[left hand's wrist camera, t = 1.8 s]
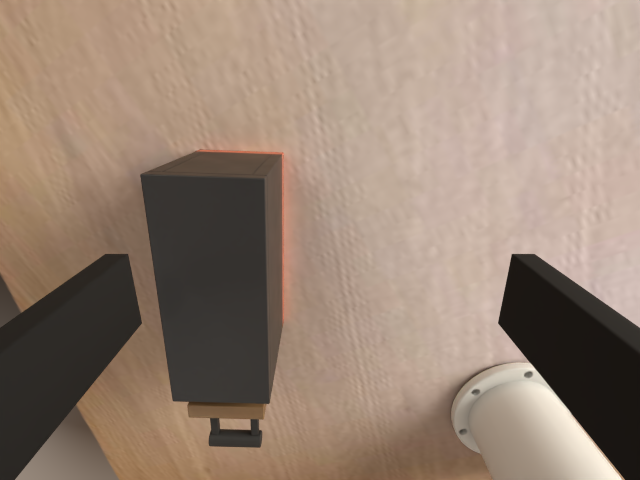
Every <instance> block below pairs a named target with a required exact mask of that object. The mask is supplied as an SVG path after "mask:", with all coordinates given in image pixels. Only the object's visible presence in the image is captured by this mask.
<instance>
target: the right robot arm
mask: <svg viewBox="0 0 640 480" xmlns="http://www.w3.org/2000/svg"><path fill="white" fill-rule="evenodd" d="M571 415H572V413H571V412H570V411H569V410H568V409H567V407H566V406H565V405H564V404H563V402H562V401H561V400H560V399H559V397H558V396H557V395H556V394H555V393H554V391H553V390H552V389H551V388H550V386H549V385H548V384H547V383H546V381H545V380H544V379H543V378H542V377H541V375H540V374H539V373H538V372H537V370H536V369H535V368H534V367H533V365H532V364H531V363H519V362H517V363H508V364H503V365H499V366H495V367H492V368H490V369H488V370H485V371H483V372H481V373H480V374H478V375H476V376H475V377H473V378H472V379H471V380H470V381H468V382H467V383H466V384H465V385H464V386H463V387H462V389H461V390H460V391H459V392H458V394H457V396H456V398H455V399H454V401H453V405H452V408H451V420H452V425H453V428H454V430H455V433H456V435H457V436H458V438H459V439H460V441H461V442H462V443H463V444H464V445H465V446H466V447H468V448H469V449H471V450H473V451H474V452H476V453H479V454H481V455H482V457H483V460H484V462H485V464H486V466H487V468H488V471H489V473H490V475H491V477H492V479H493V480H622V479H621V478H620V476H619V475H618V474H617V473H616V471H615V470H614V469H613V468H612V466H611V465H610V464H609V463H608V461H607V460H606V459H605V458H604V456H603V455H602V454H601V452H600V451H599V450H598V449H597V447H596V446H595V445H594V444H593V442H592V441H591V440H590V439H589V437H588V436H587V435H586V434H585V432H584V431H583V430H582V429H581V427H580V426H579V425H578V424H577V422H576V421H575V420H574V419H573V417H572V416H571Z"/></svg>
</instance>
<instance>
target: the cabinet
mask: <svg viewBox="0 0 640 480" xmlns="http://www.w3.org/2000/svg"><path fill="white" fill-rule="evenodd" d="M141 182H142V189H143V196H144V203H145V210H146V217H147V224H148V231H149V238H150V245H151V252H152V259H153V266H154V273H155V280H156V287H157V294H158V301H159V308H160V315H161V322H162V329H163V336H164V343H165V350H166V357H167V364H168V371H169V378H170V385H171V392H172V399H173V401H182V402H218V403H254V404H269V403H270V397H271V391H272V385H273V380H274V374H275V368H276V362H277V356H278V350H279V344H280V338H281V332H282V327H283V322H284V242H283V153H279V152H250V151H222V150H198V151H195V152H194V153H192V154H189V155H187V156H184V157H182V158H179V159H177V160H175V161H172V162H170V163H167V164H165V165H162V166H160V167H157V168H155V169H153V170H150V171H147V172H145V173H143V174H141Z"/></svg>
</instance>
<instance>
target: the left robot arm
mask: <svg viewBox="0 0 640 480" xmlns="http://www.w3.org/2000/svg"><path fill="white" fill-rule="evenodd" d="M141 324H142V321H141V316H140V311H139V306H138V301H137V297H136V292H135V287H134V282H133V277H132V272H131V267H130V262H129V257H128V254H105V255H104V256H102V257H101V258H99V259H98V260H96V261H95V262H94V263H92V264H91V265H89V266H88V267H86V268H85V269H84V270H82V271H81V272H79V273H78V274H76V275H75V276H74V277H72V278H71V279H69V280H68V281H66V282H65V283H64V284H62V285H61V286H59V287H58V288H56V289H55V290H54V291H52V292H51V293H49V294H48V295H46V296H45V297H44V298H42V299H41V300H39V301H38V302H37V303H35V304H34V305H32V306H31V307H29V308H28V309H27V310H25V311H24V312H22V313H21V314H19V315H18V316H17V317H15V318H14V319H12V320H11V321H9V322H8V323H7V324H5V325H4V326H2V327H1V328H0V480H15V479H16V477H17V476H18V475H19V474H20V473H21V471H22V470H23V469H24V468H25V466H26V465H27V464H28V463H29V462H30V460H31V459H32V458H33V457H34V455H35V454H36V453H37V452H38V450H39V449H40V448H41V447H42V445H43V444H44V443H45V442H46V441H47V439H48V438H49V437H50V436H51V434H52V433H53V432H54V431H55V429H56V428H57V427H58V426H59V425H60V423H61V422H62V421H63V420H64V418H65V417H66V416H67V415H68V413H69V412H70V411H71V410H72V409H73V407H74V406H75V405H76V404H77V402H78V401H79V400H80V399H81V397H82V396H83V395H84V394H85V393H86V391H87V390H88V389H89V388H90V386H91V385H92V384H93V383H94V381H95V380H96V379H97V378H98V377H99V375H100V374H101V373H102V372H103V370H104V369H105V368H106V367H107V365H108V364H109V363H110V362H111V361H112V359H113V358H114V357H115V356H116V354H117V353H118V352H119V351H120V349H121V348H122V347H123V346H124V345H125V343H126V342H127V341H128V340H129V338H130V337H131V336H132V335H133V333H134V332H135V331H136V330H137V329H138V327H139V326H140V325H141ZM498 324H499V325H500V326H501V327H502V329H503V330H504V331H505V332H506V333H507V335H508V336H509V337H510V338H511V340H512V341H513V342H514V343H515V345H516V346H517V347H518V348H519V349H520V351H521V352H522V353H523V354H524V356H525V357H526V358H527V359H528V361H529V362H530V363H531V364H532V365H533V367H534V368H535V369H536V370H537V372H538V373H539V374H540V375H541V377H542V378H543V379H544V380H545V381H546V383H547V384H548V385H549V386H550V388H551V389H552V390H553V391H554V393H555V394H556V395H557V396H558V397H559V399H560V400H561V401H562V402H563V404H564V405H565V406H566V407H567V409H568V410H569V411H570V412H571V413H572V415H573V416H574V417H575V418H576V420H577V421H578V422H579V423H580V425H581V426H582V427H583V428H584V430H585V431H586V432H587V433H588V434H589V436H590V437H591V438H592V439H593V441H594V442H595V443H596V444H597V446H598V447H599V448H600V449H601V450H602V452H603V453H604V454H605V455H606V457H607V458H608V459H609V460H610V462H611V463H612V464H613V465H614V466H615V468H616V469H617V470H618V471H619V473H620V474H621V475H622V476H623V478H624V479H625V480H640V328H639V327H638V326H636V325H635V324H633V323H632V322H631V321H629V320H628V319H626V318H625V317H623V316H622V315H621V314H619V313H618V312H616V311H615V310H613V309H612V308H611V307H609V306H608V305H606V304H605V303H603V302H602V301H601V300H599V299H598V298H596V297H595V296H594V295H592V294H591V293H589V292H588V291H586V290H585V289H584V288H582V287H581V286H579V285H578V284H576V283H575V282H574V281H572V280H571V279H569V278H568V277H566V276H565V275H564V274H562V273H561V272H559V271H558V270H556V269H555V268H554V267H552V266H551V265H549V264H548V263H546V262H545V261H544V260H542V259H541V258H539V257H538V256H536V255H535V254H512V257H511V262H510V267H509V272H508V277H507V282H506V287H505V292H504V297H503V301H502V306H501V311H500V316H499V321H498Z"/></svg>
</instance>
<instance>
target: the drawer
mask: <svg viewBox="0 0 640 480" xmlns="http://www.w3.org/2000/svg"><path fill="white" fill-rule="evenodd" d="M265 409H266V404H254V403H218V402H189V403H188V414H189V417H193V418H210V421H211V432H210V436H209V446H221V447H258V448H260V447H261V443H262V431H261V430H259V419H264V415H265ZM219 418H229V419H251V430H230V429H220V423H219Z"/></svg>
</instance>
